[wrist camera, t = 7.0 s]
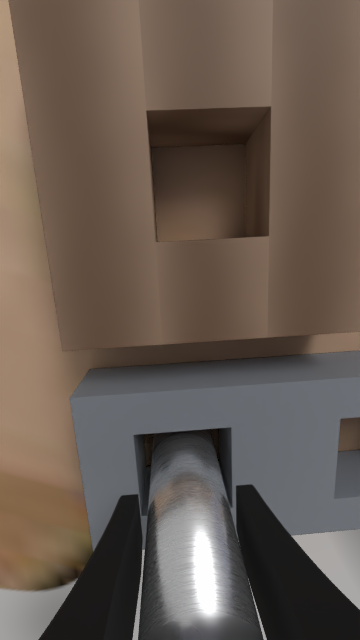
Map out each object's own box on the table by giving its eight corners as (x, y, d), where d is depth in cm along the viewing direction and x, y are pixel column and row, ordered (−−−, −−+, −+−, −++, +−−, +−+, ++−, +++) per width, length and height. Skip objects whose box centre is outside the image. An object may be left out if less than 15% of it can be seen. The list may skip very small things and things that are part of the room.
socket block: (337, 36, 11) (396, -42, 8) (321, 316, 14) (362, 331, 11) (46, 42, 11) (3, -37, 8) (84, 331, 14) (62, 351, 11)
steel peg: (208, 401, 15) (268, 607, 6) (208, 450, 15) (264, 700, 7) (152, 404, 15) (131, 619, 6) (155, 453, 15) (140, 711, 7)
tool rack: (427, 346, 15) (493, 367, 12) (408, 473, 16) (461, 519, 13) (89, 369, 14) (69, 398, 11) (107, 499, 16) (93, 554, 13)
